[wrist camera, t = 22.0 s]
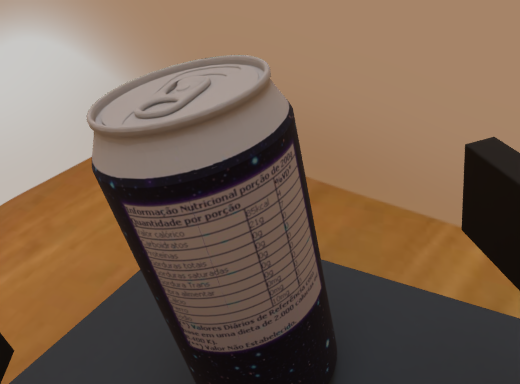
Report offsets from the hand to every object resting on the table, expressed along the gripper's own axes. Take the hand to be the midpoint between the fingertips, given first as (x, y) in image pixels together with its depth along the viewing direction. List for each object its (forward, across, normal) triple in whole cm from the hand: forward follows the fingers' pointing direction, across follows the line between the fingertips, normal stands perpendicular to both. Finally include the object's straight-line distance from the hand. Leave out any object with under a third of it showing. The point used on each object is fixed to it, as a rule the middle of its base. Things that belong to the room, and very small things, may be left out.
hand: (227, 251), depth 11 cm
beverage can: (+2, 0, -8) cm, 9 cm away
